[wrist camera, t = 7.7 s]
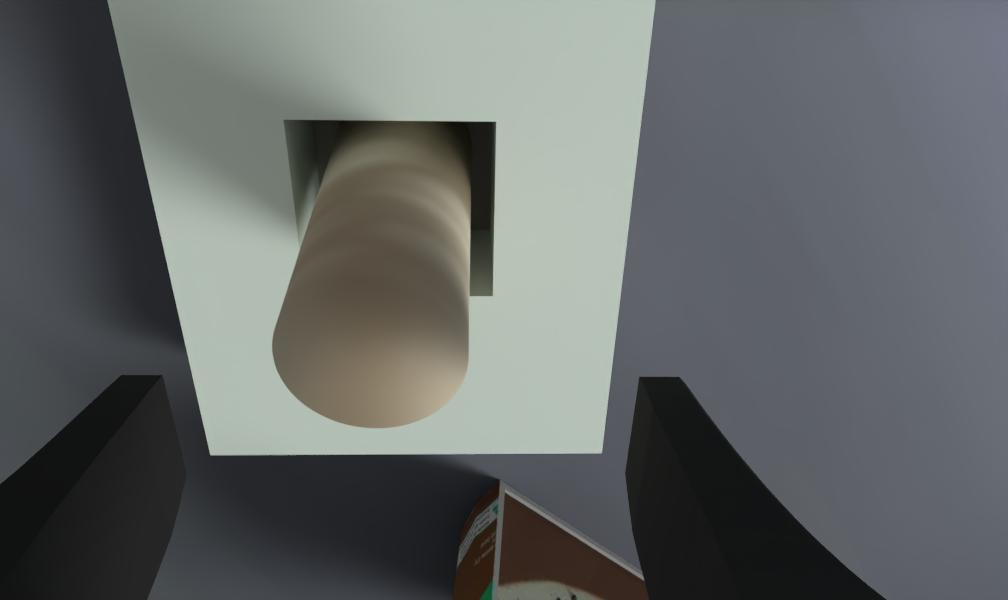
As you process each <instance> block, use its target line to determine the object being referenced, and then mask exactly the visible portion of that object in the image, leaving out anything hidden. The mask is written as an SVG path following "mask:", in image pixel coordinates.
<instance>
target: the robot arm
mask: <svg viewBox="0 0 1008 600" xmlns="http://www.w3.org/2000/svg"><path fill="white" fill-rule="evenodd" d="M625 474H626V483H627V491H628V500H629V508H630V516H631V523H632V531H633V536H634V540H635V544H636V549H637V553H638V557H639V561H640V565H641V569H642V573H643V577H644V581H645V585H646V589H647V593H648V597H649V600H886V599H885V598H884V597H882V596H881V595H880V594H878V593H877V592H876V591H875V590H873V589H872V588H871V587H869V586H868V585H867V584H866V583H865V582H863V581H862V580H861V579H860V578H859V577H857V576H856V575H855V574H854V573H853V572H852V571H850V570H849V569H848V568H847V567H846V566H845V565H844V564H842V563H841V562H840V561H839V560H838V559H837V558H836V557H835V556H834V555H833V554H831V553H830V552H829V551H828V550H827V549H826V548H825V547H824V546H823V545H822V544H821V543H820V542H818V541H817V540H816V539H815V538H814V537H813V536H812V535H811V534H810V533H809V532H808V531H807V530H806V529H805V528H804V527H803V526H802V525H801V524H800V523H799V522H798V521H797V520H796V519H795V517H794V516H793V515H792V514H791V513H790V512H789V511H788V510H787V509H786V508H785V507H784V506H783V505H782V504H781V503H780V501H779V500H778V499H777V498H776V497H775V496H774V495H773V494H772V493H771V492H770V490H769V489H768V488H767V487H766V486H765V485H764V484H763V483H762V481H761V480H760V479H759V478H758V477H757V476H756V474H755V473H754V472H753V471H752V470H751V468H750V467H749V466H748V465H747V464H746V462H745V461H744V460H743V459H742V458H741V456H740V455H739V454H738V453H737V452H736V450H735V449H734V448H733V447H732V445H731V444H730V443H729V442H728V440H727V439H726V438H725V437H724V435H723V434H722V433H721V431H720V430H719V429H718V427H717V426H716V425H715V423H714V422H713V421H712V420H711V418H710V417H709V416H708V414H707V413H706V412H705V410H704V409H703V407H702V406H701V405H700V403H699V402H698V401H697V399H696V398H695V396H694V395H693V394H692V392H691V391H690V389H689V388H688V387H687V385H686V384H685V383H684V382H683V381H682V380H681V378H680V377H639V384H638V390H637V397H636V404H635V411H634V418H633V424H632V431H631V438H630V445H629V451H628V458H627V465H626V472H625ZM185 478H186V470H185V466H184V462H183V457H182V453H181V449H180V445H179V441H178V437H177V433H176V429H175V425H174V421H173V417H172V413H171V409H170V405H169V401H168V397H167V392H166V388H165V384H164V380H163V376H162V375H121V376H120V377H119V378H118V379H117V380H115V381H114V382H113V383H112V384H111V385H110V386H109V387H108V388H106V389H105V390H104V391H103V392H102V393H101V394H100V395H99V396H98V397H97V398H96V399H95V400H94V401H92V402H91V403H90V404H89V405H88V406H87V407H86V408H85V409H84V410H83V411H82V412H81V413H80V414H79V415H77V416H76V417H75V418H74V419H73V420H72V421H71V422H70V423H69V424H68V425H67V426H66V427H64V428H63V429H62V430H61V431H60V432H59V433H58V434H57V435H56V436H55V437H54V438H53V439H51V440H50V441H49V442H48V443H47V444H46V445H45V446H44V447H43V448H41V449H40V450H39V451H38V452H37V453H36V454H35V455H34V456H33V457H31V458H30V459H29V460H28V461H27V462H26V463H25V464H24V465H22V466H21V467H20V468H19V469H18V470H17V471H16V472H14V473H13V474H12V475H11V476H10V477H8V478H7V479H6V480H5V481H4V482H2V483H1V484H0V600H147V598H148V596H149V593H150V591H151V588H152V586H153V583H154V580H155V578H156V575H157V573H158V570H159V567H160V565H161V562H162V559H163V557H164V554H165V552H166V549H167V546H168V544H169V541H170V538H171V535H172V532H173V528H174V524H175V520H176V516H177V512H178V508H179V504H180V500H181V495H182V491H183V486H184V482H185Z"/></svg>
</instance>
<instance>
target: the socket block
mask: <svg viewBox="0 0 1008 600" xmlns="http://www.w3.org/2000/svg"><path fill="white" fill-rule="evenodd" d="M107 1H108V5H109V10H110V14H111V19H112V23H113V27H114V32H115V36H116V41H117V45H118V50H119V54H120V58H121V63H122V67H123V72H124V76H125V80H126V85H127V89H128V94H129V98H130V103H131V107H132V111H133V116H134V120H135V125H136V129H137V133H138V138H139V142H140V147H141V151H142V156H143V160H144V164H145V169H146V173H147V178H148V182H149V187H150V191H151V195H152V200H153V204H154V209H155V213H156V217H157V222H158V226H159V231H160V235H161V240H162V244H163V248H164V253H165V257H166V262H167V266H168V270H169V275H170V279H171V284H172V288H173V293H174V297H175V301H176V306H177V310H178V315H179V319H180V324H181V328H182V332H183V337H184V341H185V346H186V350H187V354H188V359H189V363H190V368H191V372H192V377H193V381H194V385H195V390H196V394H197V399H198V403H199V407H200V412H201V416H202V421H203V425H204V430H205V434H206V438H207V443H208V447H209V452H210V455H369V454H559V453H602V447H603V439H604V430H605V422H606V413H607V405H608V396H609V388H610V380H611V371H612V363H613V354H614V346H615V337H616V329H617V321H618V312H619V304H620V295H621V287H622V279H623V270H624V262H625V253H626V245H627V236H628V228H629V220H630V211H631V203H632V194H633V186H634V177H635V169H636V161H637V152H638V144H639V135H640V127H641V118H642V110H643V102H644V93H645V85H646V76H647V68H648V59H649V51H650V43H651V34H652V26H653V17H654V9H655V1H656V0H107ZM342 120H368V121H465V123H466V125H467V127H468V130H469V133H470V137H471V144H472V164H471V230H470V297H469V361H468V367H467V372H466V375H465V378H464V381H463V383H462V384H461V386H460V388H459V390H458V391H457V393H456V394H455V395H454V397H453V398H452V399H451V400H450V401H449V402H448V403H447V404H446V405H445V406H443V407H442V408H441V409H439V410H438V411H437V412H435V413H433V414H432V415H430V416H428V417H426V418H424V419H422V420H419V421H417V422H414V423H410V424H407V425H403V426H398V427H390V428H363V427H356V426H351V425H346V424H343V423H339V422H336V421H333V420H331V419H328V418H326V417H324V416H322V415H320V414H318V413H316V412H314V411H313V410H311V409H310V408H308V407H307V406H305V405H304V404H303V403H302V402H300V401H299V400H298V399H297V398H296V397H295V396H294V395H293V394H292V393H291V392H290V391H289V390H288V388H287V387H286V385H285V384H284V383H283V381H282V380H281V378H280V376H279V374H278V372H277V369H276V366H275V363H274V359H273V353H272V339H273V333H274V329H275V326H276V323H277V320H278V317H279V314H280V310H281V307H282V304H283V301H284V298H285V295H286V292H287V289H288V285H289V282H290V279H291V276H292V273H293V270H294V267H295V264H296V261H297V257H298V254H299V251H300V248H301V245H302V242H303V239H304V236H305V232H306V229H307V226H308V223H309V220H310V217H311V214H312V211H313V207H314V204H315V201H316V198H317V195H318V192H319V189H320V186H321V182H322V179H323V176H324V173H325V170H326V167H327V164H328V161H329V158H330V154H331V151H332V148H333V145H334V142H335V139H336V136H337V133H338V129H339V126H340V124H341V121H342Z"/></svg>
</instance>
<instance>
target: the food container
mask: <svg viewBox="0 0 1008 600" xmlns="http://www.w3.org/2000/svg"><path fill="white" fill-rule="evenodd" d="M453 600H649V597H648V593H647V589H646V585H645V581H644V577H643V573H642V571H641V570H640V569H638V568H637V567H635V566H634V565H632V564H631V563H629V562H627V561H626V560H624V559H623V558H621V557H620V556H618V555H617V554H615V553H613V552H612V551H610V550H609V549H607V548H606V547H604V546H602V545H601V544H599V543H598V542H596V541H595V540H593V539H592V538H590V537H588V536H587V535H585V534H584V533H582V532H581V531H579V530H577V529H576V528H574V527H573V526H571V525H570V524H568V523H567V522H565V521H563V520H562V519H560V518H559V517H557V516H556V515H554V514H553V513H551V512H549V511H548V510H546V509H545V508H543V507H542V506H540V505H538V504H537V503H535V502H534V501H532V500H531V499H529V498H528V497H526V496H524V495H523V494H521V493H520V492H518V491H517V490H515V489H513V488H512V487H510V486H509V485H507V484H506V483H504V482H503V481H501V480H499V481H498V482H497V483H496V484H495V485H494V486H493V487H492V488H491V489H490V490H489V491H488V492H487V493H485V494H484V495H483V496H482V497H481V498H480V499H479V500H478V502H477V503H476V505H475V507H474V509H473V511H472V512H471V514H470V516H469V518H468V520H467V521H466V523H465V525H464V527H463V529H462V531H461V539H460V546H459V554H458V562H457V570H456V578H455V586H454V593H453Z"/></svg>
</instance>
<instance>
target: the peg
mask: <svg viewBox="0 0 1008 600" xmlns="http://www.w3.org/2000/svg"><path fill="white" fill-rule="evenodd" d="M471 164H472V144H471V137H470V133H469V130H468V127H467V125H466V123H465V121H368V120H342V121H341V124H340V126H339V129H338V133H337V136H336V139H335V142H334V145H333V148H332V151H331V154H330V158H329V161H328V164H327V167H326V170H325V173H324V176H323V179H322V182H321V186H320V189H319V192H318V195H317V198H316V201H315V204H314V207H313V211H312V214H311V217H310V220H309V223H308V226H307V229H306V232H305V236H304V239H303V242H302V245H301V248H300V251H299V254H298V257H297V261H296V264H295V267H294V270H293V273H292V276H291V279H290V282H289V285H288V289H287V292H286V295H285V298H284V301H283V304H282V307H281V310H280V314H279V317H278V320H277V323H276V326H275V329H274V333H273V339H272V353H273V359H274V363H275V366H276V369H277V372H278V374H279V376H280V378H281V380H282V381H283V383H284V384H285V385H286V387H287V388H288V390H289V391H290V392H291V393H292V394H293V395H294V396H295V397H296V398H297V399H298V400H299V401H300V402H302V403H303V404H304V405H305V406H307V407H308V408H310V409H311V410H313V411H314V412H316V413H318V414H320V415H322V416H324V417H326V418H328V419H331V420H333V421H336V422H339V423H343V424H346V425H351V426H356V427H363V428H390V427H398V426H403V425H407V424H410V423H414V422H417V421H419V420H422V419H424V418H426V417H428V416H430V415H432V414H433V413H435V412H437V411H438V410H439V409H441V408H442V407H443V406H445V405H446V404H447V403H448V402H449V401H450V400H451V399H452V398H453V397H454V395H455V394H456V393H457V391H458V390H459V388H460V386H461V384H462V383H463V381H464V378H465V375H466V372H467V367H468V361H469V297H470V230H471Z"/></svg>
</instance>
